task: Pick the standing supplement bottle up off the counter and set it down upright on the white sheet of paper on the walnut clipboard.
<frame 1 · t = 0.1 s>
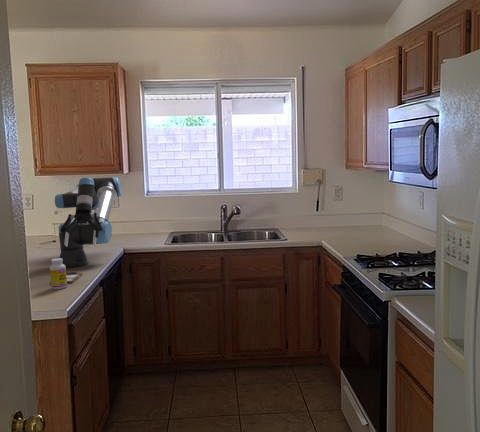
hand: (80, 244, 248), 15 cm above the worktop, tool tilted 35°, fingers open, 13 cm apart
clipboard: (66, 279, 243), on the worktop
supplement bottle: (59, 288, 229), on the worktop
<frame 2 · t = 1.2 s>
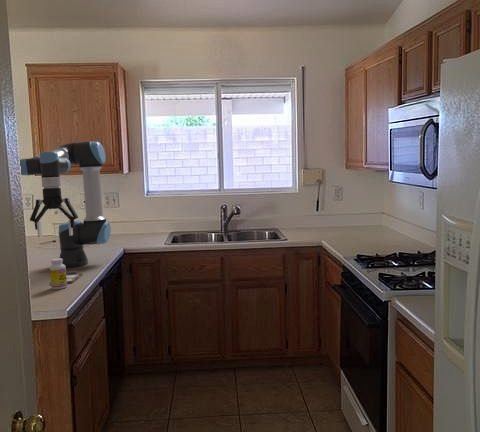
hand: (55, 236, 227), 23 cm above the worktop, tool pointing down, fingers open, 13 cm apart
nothing on the worktop moved.
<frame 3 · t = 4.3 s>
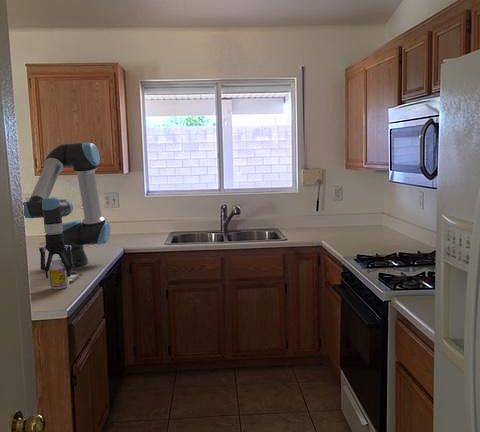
hand: (59, 284, 228), 2 cm above the worktop, tool pointing down, fingers closed on supplement bottle, 7 cm apart
supplement bottle: (59, 288, 229), on the worktop, touching gripper
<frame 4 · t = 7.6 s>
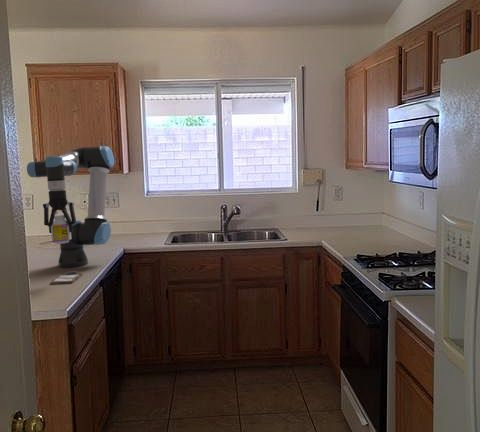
hand: (61, 239, 240), 19 cm above the worktop, tool pointing down, fingers closed on supplement bottle, 7 cm apart
supplement bottle: (62, 243, 240), point 18 cm above the worktop, touching gripper
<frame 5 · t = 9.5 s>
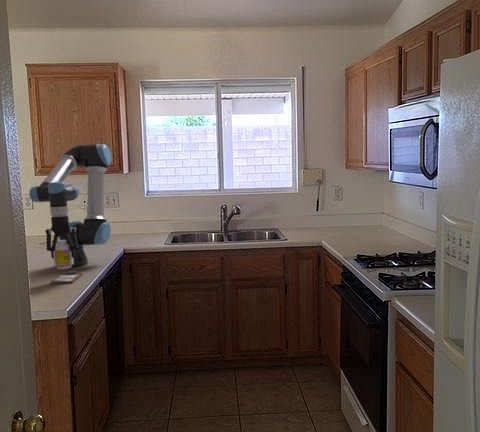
hand: (64, 264, 241), 8 cm above the worktop, tool pointing down, fingers closed on supplement bottle, 7 cm apart
supplement bottle: (64, 268, 241), point 6 cm above the worktop, touching gripper
when the fingers open (4 cm above the worktop, at t = 11.1 s): supplement bottle drops 1 cm, resting on clipboard.
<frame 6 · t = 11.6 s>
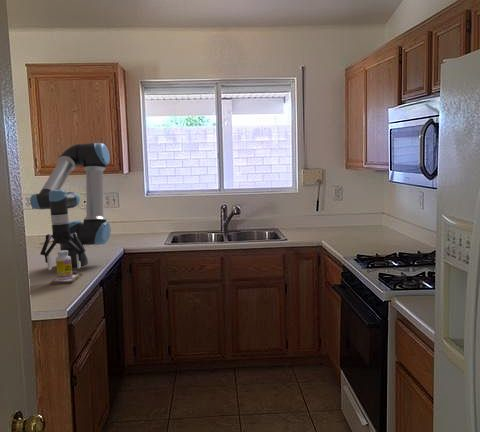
hand: (64, 268, 241), 6 cm above the worktop, tool pointing down, fingers open, 13 cm apart
supplement bottle: (65, 278, 242), point 1 cm above the worktop, touching clipboard
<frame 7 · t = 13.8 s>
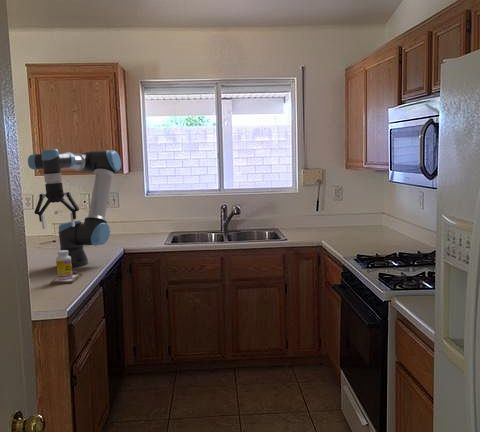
hand: (58, 227, 244), 24 cm above the worktop, tool pointing down, fingers open, 13 cm apart
nothing on the worktop moved.
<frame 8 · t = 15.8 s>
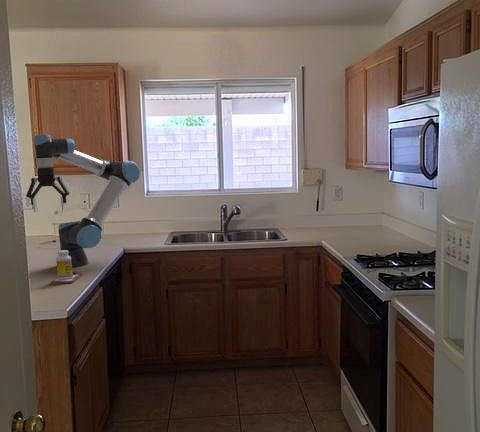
hand: (49, 210, 252), 32 cm above the worktop, tool pointing down, fingers open, 13 cm apart
nothing on the worktop moved.
at the end: supplement bottle 0.1 cm from the target spot on the clipboard, point 0.9 cm above the clipboard's base; supplement bottle tilted 0°; the gripper is holding nothing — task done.
